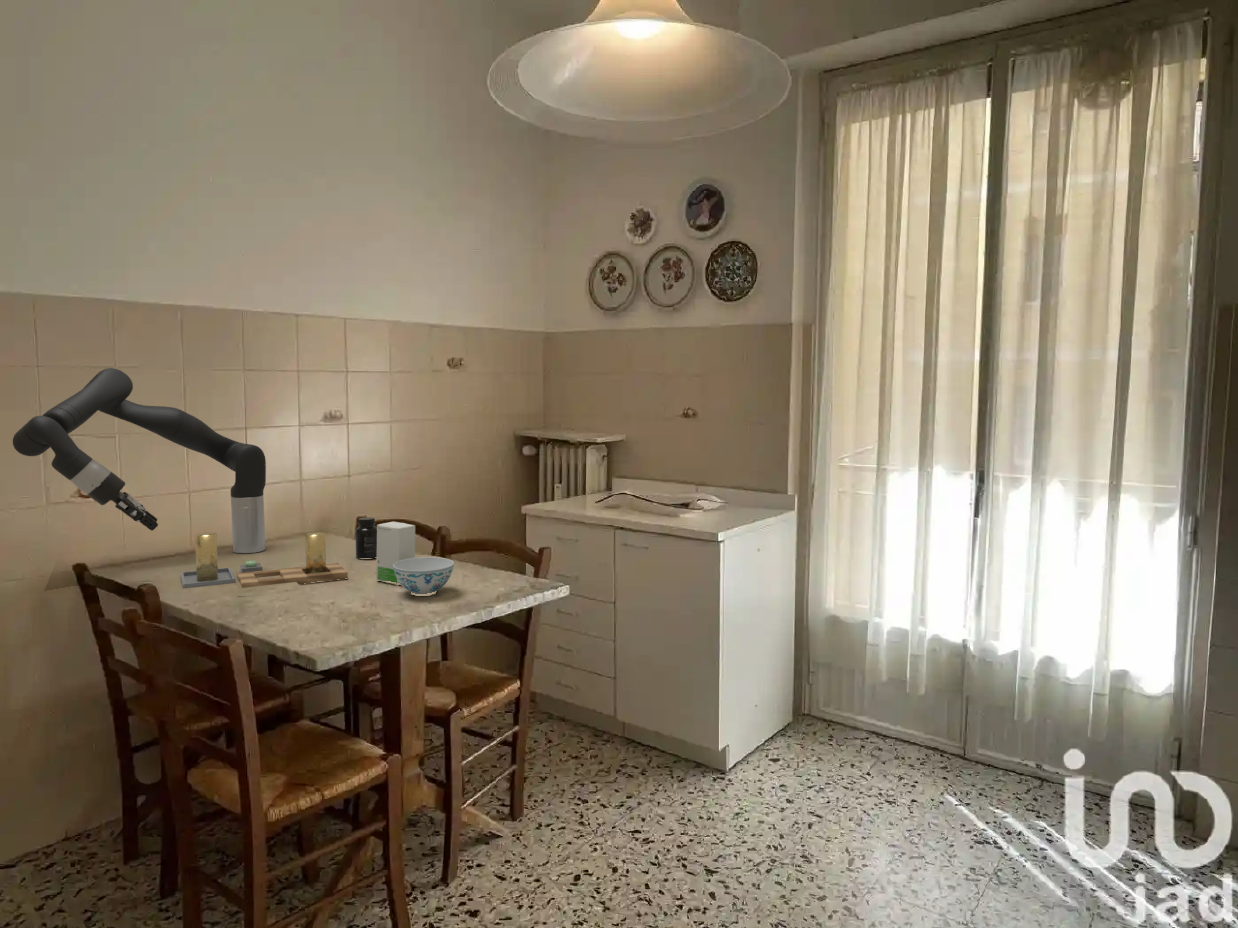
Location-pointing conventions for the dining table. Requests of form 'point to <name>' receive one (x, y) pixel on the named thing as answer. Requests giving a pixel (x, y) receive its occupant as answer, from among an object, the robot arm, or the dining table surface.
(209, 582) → the grey tray
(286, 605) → the dining table surface
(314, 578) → the pallet
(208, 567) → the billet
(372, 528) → the supplement bottle
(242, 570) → the button housing
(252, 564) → the button
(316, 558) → the seated billet
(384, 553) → the skincare box
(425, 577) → the chinaware
